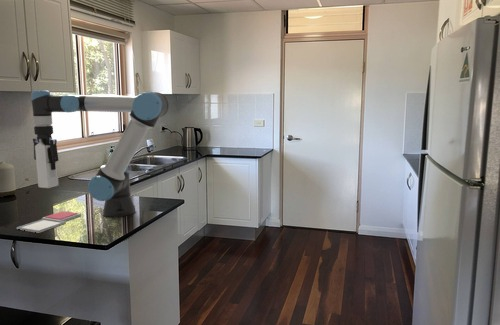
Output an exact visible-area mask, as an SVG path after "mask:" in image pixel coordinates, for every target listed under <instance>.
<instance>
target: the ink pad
mask: <svg viewBox="0 0 500 325" xmlns="http://www.w3.org/2000/svg"><path fill="white" fill-rule="evenodd" d="M81 216H82V214H81V213H80V212H79V213H78V212H74V211H73V212H70V211H66V210H65V211H63V210H61V211H59V212H56V213H55V212H54V213H53V214H49V215H45V216H44V217H41V220H42V219H47V220H54V221H63V222H68V221H71V220H74V219H76V218H79V217H81Z"/></svg>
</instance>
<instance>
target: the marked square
mask: <svg viewBox="0 0 500 325" xmlns="http://www.w3.org/2000/svg"><path fill="white" fill-rule="evenodd" d="M66 222H67V221H65V222H63V221H54V220H47V219H42V218H41V219H39V220H36V221H32V222H30V223H26V224H23V225H19V226H17V227H16V230H18V229H20V231H24V230H25V232H30V233H35V232H36V234H39V233H42V232H45V231H48V230H51V229H55V228H57V227H60V226H63V225H65V224H66ZM59 225H60V226H59Z"/></svg>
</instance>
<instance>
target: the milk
mask: <svg viewBox="0 0 500 325" xmlns="http://www.w3.org/2000/svg"><path fill="white" fill-rule="evenodd" d="M49 147H50V145H46V146H45V145H44V144H43V143H42V139H39V143H38V144H37V145H36V146H35V153H36V160H35V163H36V164H35V165H36V174H37V186H38V188H44V189H50V188H53V187H58V186H59V176H58V175H59V174H58V161H56V162H55V167H56V169H55V172H56V176H55V177H49V166H48V162H49V159H48V151H47V148H49Z"/></svg>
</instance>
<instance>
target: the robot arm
mask: <svg viewBox="0 0 500 325" xmlns="http://www.w3.org/2000/svg"><path fill="white" fill-rule="evenodd" d="M30 96H31V108H32V120H33V125H34V126H33V130H34V132H33V133H34V135H36V137H35V138H33V137H32V143H33V158H34V161H36V153H35V146H36V145H37V144H38V143H39V139H42V143H43V144H44V145H45V146H46V145H50V147H49V148H47V151H48V159H49V162H48V166H49V177H55V176H56V172H55V169H56V167H55V162H56V161H57V162H59V154H58V147H57V143H58V140H57V139H53V137H52V135H53V134H54V126H53V116H52V115H53V113H74V112H101V113H102V112H103V113H129V118H130V120H129V122H128V124H126V125H127V126H126V128H125V130H124V131H123V133H122V135H121V136H120V138H119V140H118V142H117V144H116V145H115V147H114V149H113V151H112V153H111V155H110V156H109V157H108V160H107V162H106V164H103V165H100V167H99V168H98V171H97V173H96V175H95V176H92V177H91V179H90V180H89V181H88V184H87V191H88V193H89V195H90V196H91V197H92V198H93V199H94V200H96V201H99V202H104V205H103V208H102V215H103V216H104V217H109V218H116V217H117V218H119V217H124V216H125V217H126V216H129V215H132V214H134V213H135V212H136V206H135V205H134V202H133V199H132V197H131V184H130V182H131V181H130V171H129V167H128V166H129V165H130V163H131V161H132V160H133V157H134V156H135V154H136V153H137V151H138V149H139V147H140V145H141V143H142V141H143V139H144V138H145V136H146V134H147V133H148V132H149V129H153V128H154V127H155V126H156V124H157V122H158V120H159V119H160V118H162V117H164V116H165V115H167V113H168V110H169V108H170V103H169V100H168V98H167V97H166V95H164V94H163V93H161V92H155V91H144V92H142V93H139V94H138V95H135V96H134V95H97V94H96V95H94V94H93V95H90V94H89V95H85V94H51V92H50V91H49V90H32V91H31V95H30Z"/></svg>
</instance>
